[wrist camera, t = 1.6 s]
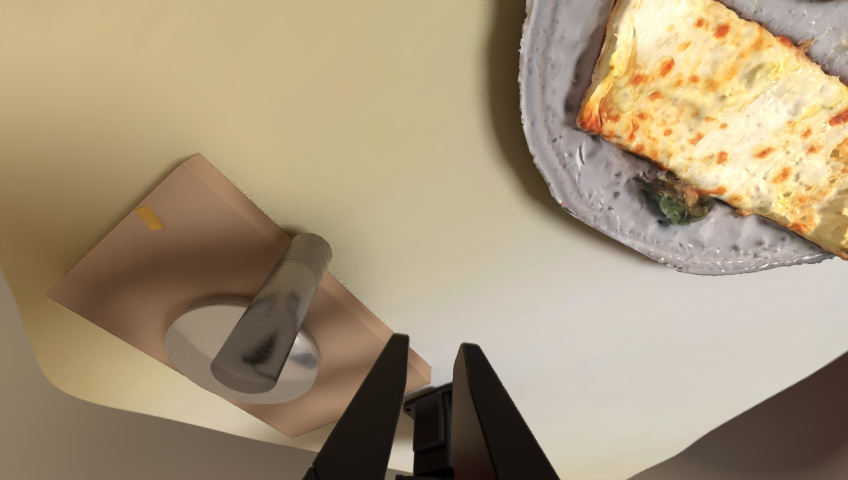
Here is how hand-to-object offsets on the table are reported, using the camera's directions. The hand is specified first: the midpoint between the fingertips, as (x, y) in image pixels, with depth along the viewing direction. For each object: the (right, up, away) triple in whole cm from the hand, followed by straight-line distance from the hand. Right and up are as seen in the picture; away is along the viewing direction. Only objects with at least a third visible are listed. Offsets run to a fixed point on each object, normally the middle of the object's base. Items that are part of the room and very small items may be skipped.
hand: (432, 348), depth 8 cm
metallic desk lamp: (-11, -3, +14) cm, 18 cm away
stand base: (-13, -4, +17) cm, 22 cm away
